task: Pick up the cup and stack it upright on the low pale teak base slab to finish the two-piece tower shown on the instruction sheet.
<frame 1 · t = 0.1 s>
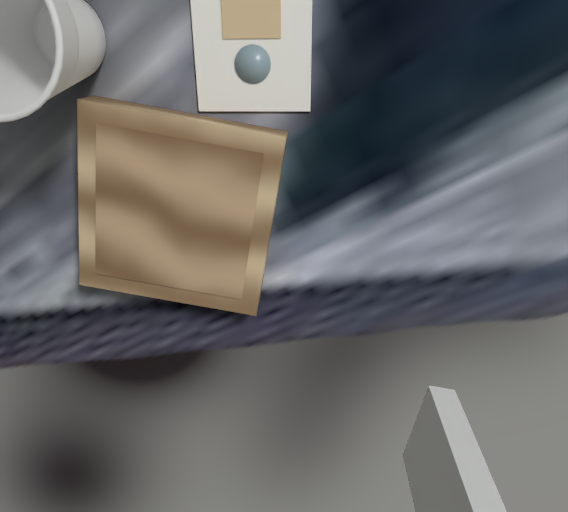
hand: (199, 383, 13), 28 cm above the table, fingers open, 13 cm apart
instruction sheet: (252, 28, 35), on the table
plinth block: (183, 206, 41), on the table
cup: (70, 37, 36), on the table
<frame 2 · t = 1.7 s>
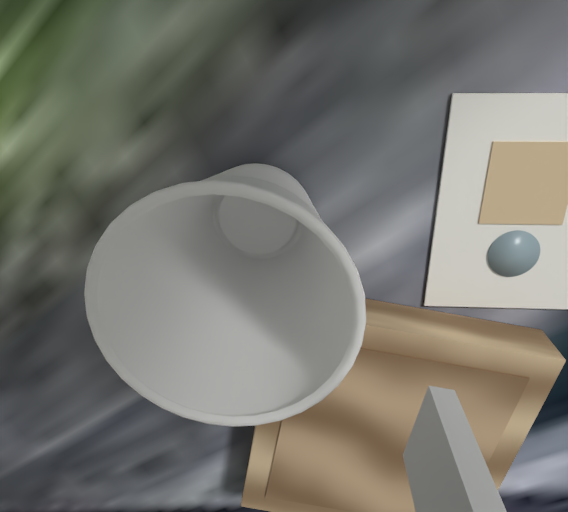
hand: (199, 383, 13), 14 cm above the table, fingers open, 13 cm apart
instruction sheet: (520, 210, 25), on the table
plinth block: (378, 407, 31), on the table
cup: (258, 214, 26), on the table
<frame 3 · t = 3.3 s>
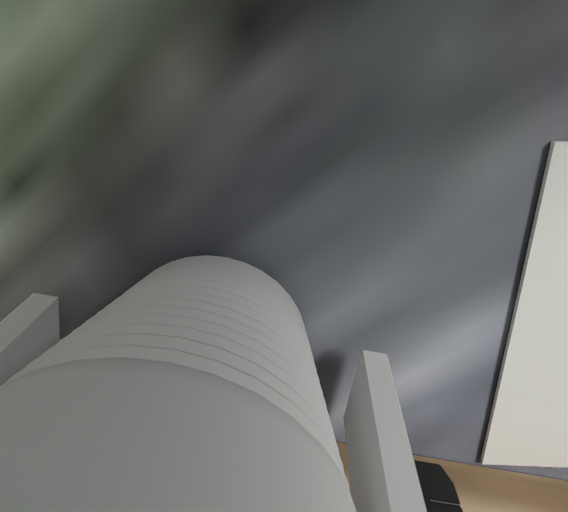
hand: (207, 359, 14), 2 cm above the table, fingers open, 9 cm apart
cup: (217, 328, 16), on the table, touching gripper
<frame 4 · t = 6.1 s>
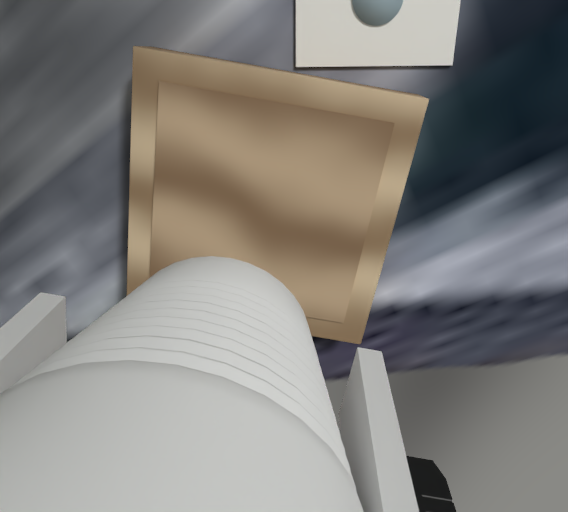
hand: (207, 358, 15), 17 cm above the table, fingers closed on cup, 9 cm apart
plinth block: (265, 198, 31), on the table
cup: (221, 329, 16), point 16 cm above the table, touching gripper
when the fingers open (5 cm above the table, at t = 8.6 s): cup stays where it is, resting on plinth block.
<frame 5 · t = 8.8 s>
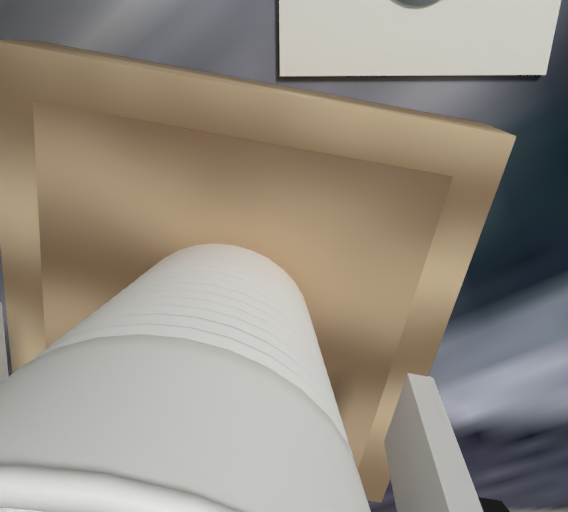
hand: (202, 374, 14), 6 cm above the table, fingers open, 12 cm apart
plinth block: (234, 280, 20), on the table
cup: (224, 314, 17), point 3 cm above the table, touching plinth block
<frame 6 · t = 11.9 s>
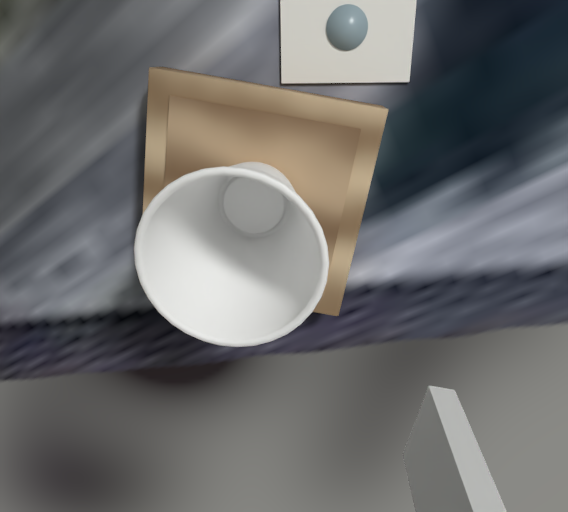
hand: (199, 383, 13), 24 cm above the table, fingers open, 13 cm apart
plinth block: (257, 193, 36), on the table
cup: (254, 202, 33), point 3 cm above the table, touching plinth block
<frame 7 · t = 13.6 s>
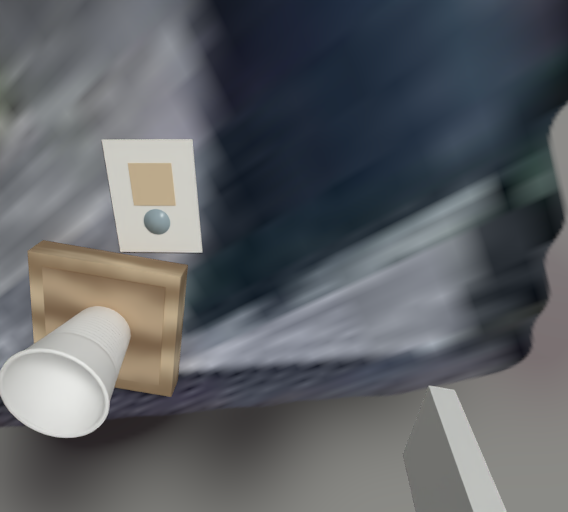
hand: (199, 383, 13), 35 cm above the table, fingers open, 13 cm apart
instruction sheet: (154, 198, 48), on the table
plinth block: (114, 314, 54), on the table
cup: (105, 327, 51), point 3 cm above the table, touching plinth block
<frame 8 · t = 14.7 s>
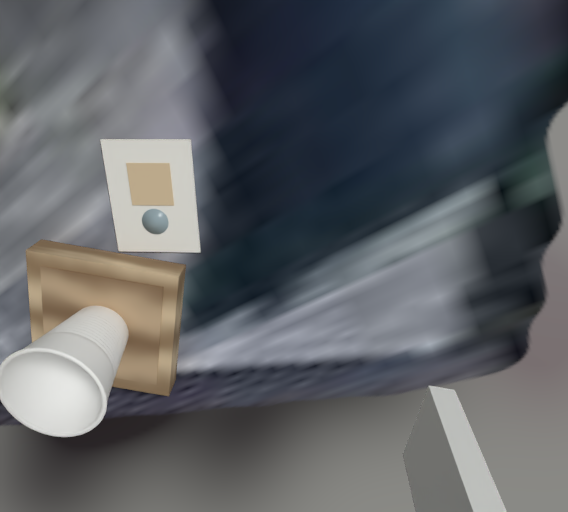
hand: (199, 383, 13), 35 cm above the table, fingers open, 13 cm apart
instruction sheet: (153, 198, 48), on the table
plinth block: (112, 314, 54), on the table
cup: (103, 326, 51), point 3 cm above the table, touching plinth block
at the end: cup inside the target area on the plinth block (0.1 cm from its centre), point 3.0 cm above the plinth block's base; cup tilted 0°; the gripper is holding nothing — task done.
